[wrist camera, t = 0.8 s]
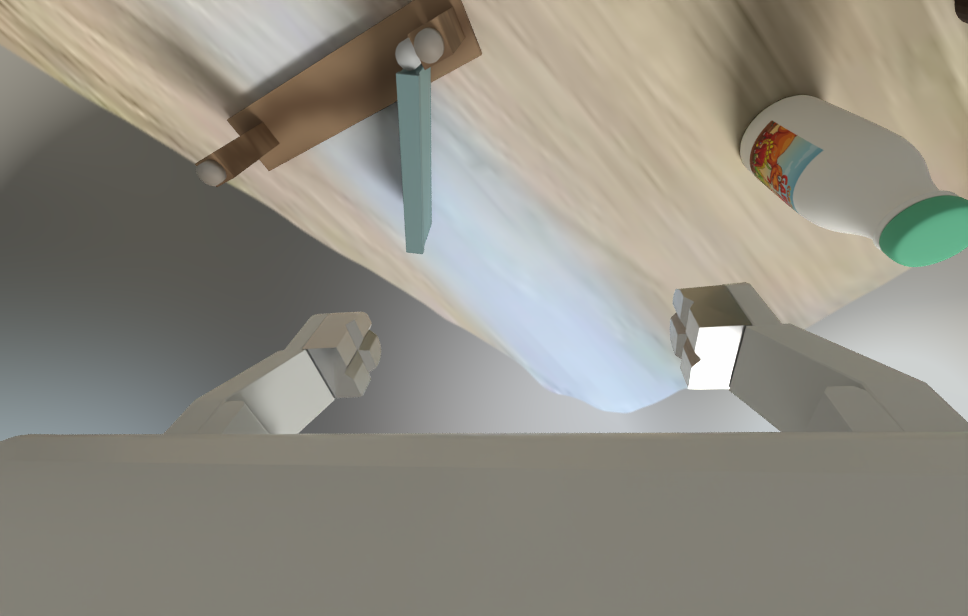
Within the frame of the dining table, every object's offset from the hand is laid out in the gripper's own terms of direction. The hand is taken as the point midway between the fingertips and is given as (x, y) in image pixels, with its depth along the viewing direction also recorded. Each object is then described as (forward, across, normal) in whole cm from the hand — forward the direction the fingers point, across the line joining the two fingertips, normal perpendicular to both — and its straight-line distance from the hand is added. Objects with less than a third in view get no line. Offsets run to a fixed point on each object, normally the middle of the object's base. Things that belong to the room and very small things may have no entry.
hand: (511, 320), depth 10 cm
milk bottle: (+37, -24, +7) cm, 45 cm away
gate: (+34, +12, +2) cm, 36 cm away
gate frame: (+34, +18, -4) cm, 39 cm away
